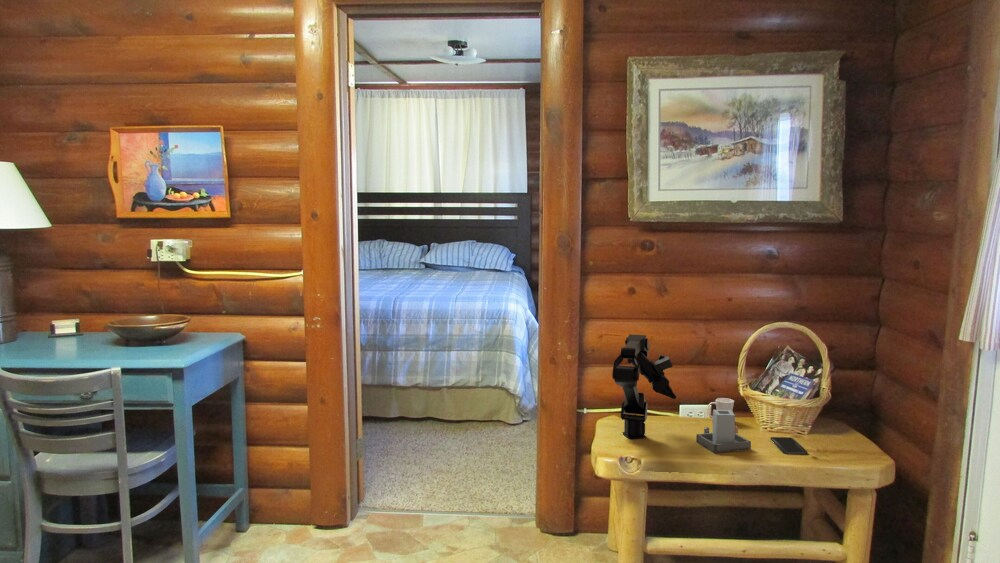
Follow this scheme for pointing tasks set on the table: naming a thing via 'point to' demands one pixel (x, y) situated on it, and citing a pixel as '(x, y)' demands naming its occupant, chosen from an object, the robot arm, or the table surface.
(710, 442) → the tray
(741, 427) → the table surface
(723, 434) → the sleeve
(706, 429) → the grey metal capsule
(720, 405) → the cup
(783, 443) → the phone
